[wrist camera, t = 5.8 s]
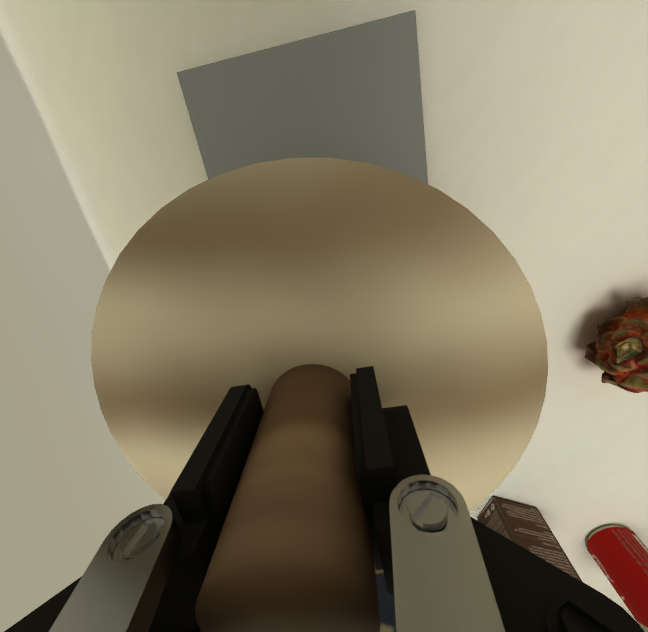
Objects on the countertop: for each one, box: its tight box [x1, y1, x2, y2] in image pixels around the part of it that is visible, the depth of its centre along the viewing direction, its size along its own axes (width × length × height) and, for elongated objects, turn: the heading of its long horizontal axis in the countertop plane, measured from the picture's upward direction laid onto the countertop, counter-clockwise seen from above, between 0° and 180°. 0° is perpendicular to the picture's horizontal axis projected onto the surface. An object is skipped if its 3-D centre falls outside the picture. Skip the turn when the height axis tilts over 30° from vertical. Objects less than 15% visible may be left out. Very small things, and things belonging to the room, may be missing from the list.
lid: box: [91, 158, 548, 632], centre depth 9 cm, size 15×15×7 cm
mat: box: [177, 10, 428, 185], centre depth 26 cm, size 17×17×1 cm
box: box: [478, 497, 582, 582], centre depth 33 cm, size 6×4×12 cm
